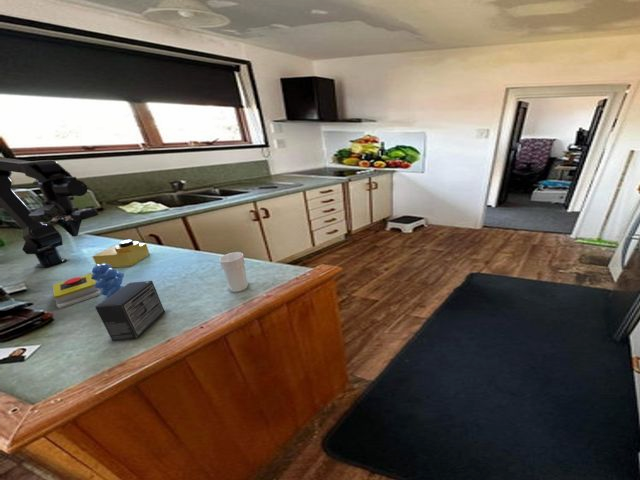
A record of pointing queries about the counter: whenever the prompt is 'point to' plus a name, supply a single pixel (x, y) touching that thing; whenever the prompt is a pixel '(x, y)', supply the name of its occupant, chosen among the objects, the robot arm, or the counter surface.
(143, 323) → the small box
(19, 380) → the counter surface
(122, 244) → the press button
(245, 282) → the cup
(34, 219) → the robot arm
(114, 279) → the grapes
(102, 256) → the yellow angular block
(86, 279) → the emergency button
